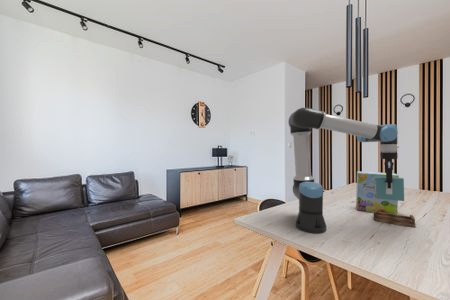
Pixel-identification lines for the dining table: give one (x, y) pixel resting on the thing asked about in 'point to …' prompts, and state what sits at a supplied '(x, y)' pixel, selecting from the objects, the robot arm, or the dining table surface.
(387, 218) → the brown wooden tray
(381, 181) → the door panel
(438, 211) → the dining table surface
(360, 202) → the snack box
